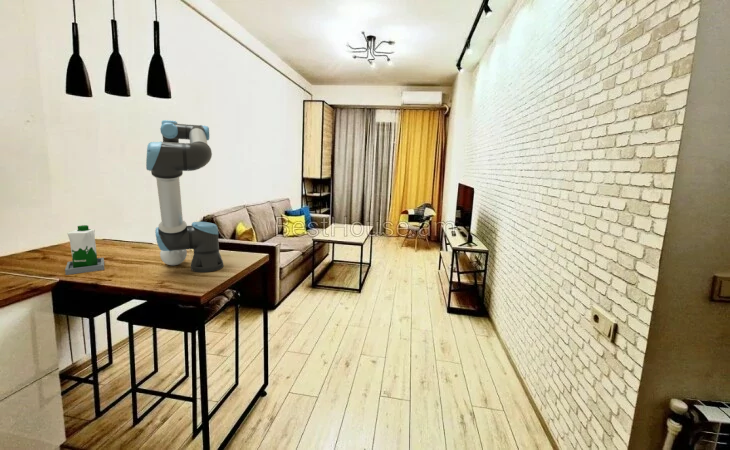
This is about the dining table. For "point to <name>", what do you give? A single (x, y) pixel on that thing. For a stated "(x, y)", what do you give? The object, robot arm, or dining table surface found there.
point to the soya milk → (83, 247)
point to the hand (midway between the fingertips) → (174, 190)
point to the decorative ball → (173, 256)
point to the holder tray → (71, 270)
